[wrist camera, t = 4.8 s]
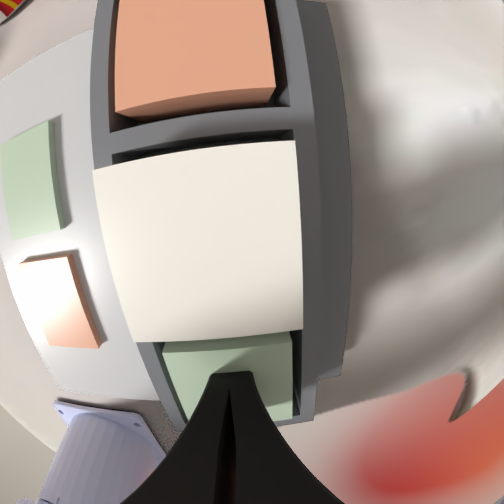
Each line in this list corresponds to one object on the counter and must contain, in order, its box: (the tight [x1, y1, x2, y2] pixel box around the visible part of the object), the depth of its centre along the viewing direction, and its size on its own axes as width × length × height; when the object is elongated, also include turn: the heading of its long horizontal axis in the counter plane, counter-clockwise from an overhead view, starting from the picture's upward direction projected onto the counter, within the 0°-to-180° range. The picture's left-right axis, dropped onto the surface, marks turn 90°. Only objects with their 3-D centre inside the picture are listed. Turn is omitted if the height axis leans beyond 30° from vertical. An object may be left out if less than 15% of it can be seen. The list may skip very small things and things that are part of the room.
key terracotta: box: [115, 0, 276, 123], centre depth 6 cm, size 4×4×2 cm
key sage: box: [162, 331, 293, 421], centre depth 10 cm, size 4×4×2 cm
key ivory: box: [92, 141, 303, 342], centre depth 6 cm, size 4×4×2 cm
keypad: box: [0, 0, 352, 431], centre depth 9 cm, size 17×16×4 cm
